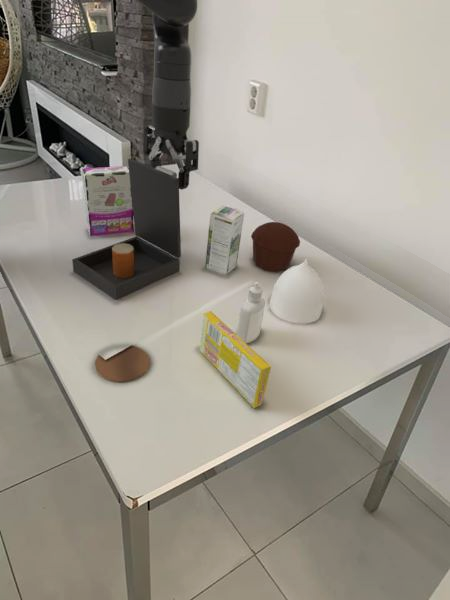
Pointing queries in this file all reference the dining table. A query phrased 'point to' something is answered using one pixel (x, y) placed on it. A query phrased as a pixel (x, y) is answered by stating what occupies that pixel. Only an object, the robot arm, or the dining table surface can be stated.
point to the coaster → (123, 365)
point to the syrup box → (224, 239)
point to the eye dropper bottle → (251, 315)
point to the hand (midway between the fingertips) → (169, 182)
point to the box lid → (156, 206)
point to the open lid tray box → (147, 268)
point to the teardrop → (298, 295)
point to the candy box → (234, 359)
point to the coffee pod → (123, 260)
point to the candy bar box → (108, 200)
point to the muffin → (274, 246)
